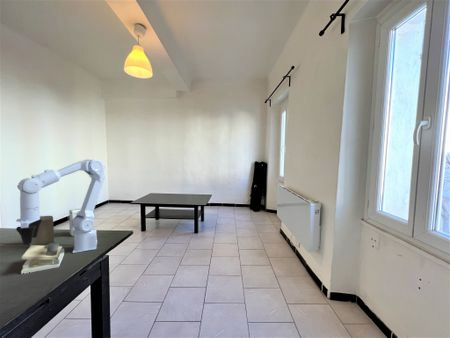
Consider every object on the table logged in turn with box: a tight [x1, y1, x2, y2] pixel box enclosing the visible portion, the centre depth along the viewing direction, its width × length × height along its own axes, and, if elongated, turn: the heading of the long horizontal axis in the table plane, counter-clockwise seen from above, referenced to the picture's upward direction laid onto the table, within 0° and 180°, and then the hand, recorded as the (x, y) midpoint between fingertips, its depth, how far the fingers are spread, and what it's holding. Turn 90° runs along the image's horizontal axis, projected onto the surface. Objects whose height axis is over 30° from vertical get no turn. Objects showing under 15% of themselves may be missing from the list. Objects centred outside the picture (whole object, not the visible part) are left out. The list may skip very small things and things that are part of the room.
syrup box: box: [68, 207, 82, 237], centre depth 124 cm, size 6×6×14 cm
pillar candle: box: [29, 215, 55, 247], centre depth 110 cm, size 10×10×15 cm
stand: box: [20, 248, 65, 275], centre depth 91 cm, size 12×13×3 cm
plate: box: [21, 242, 64, 260], centre depth 91 cm, size 11×12×5 cm
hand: (30, 240), depth 88 cm, fingers open, 7 cm apart
